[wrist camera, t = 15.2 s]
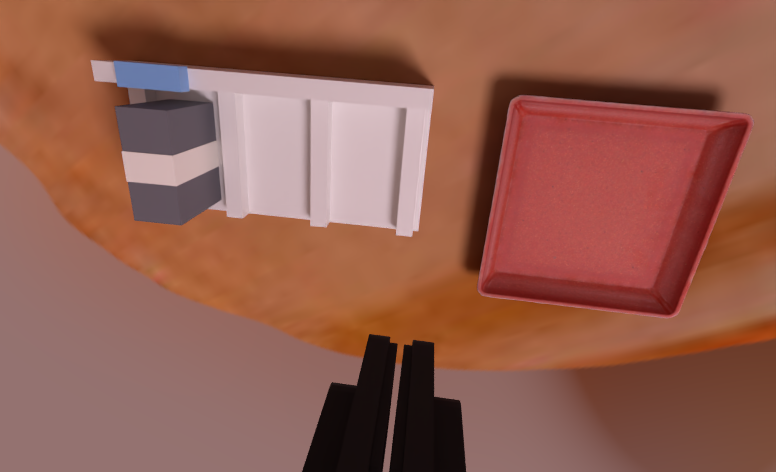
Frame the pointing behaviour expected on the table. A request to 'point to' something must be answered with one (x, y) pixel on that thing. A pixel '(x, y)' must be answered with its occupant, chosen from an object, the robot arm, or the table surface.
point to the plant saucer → (606, 202)
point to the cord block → (170, 159)
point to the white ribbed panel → (302, 140)
